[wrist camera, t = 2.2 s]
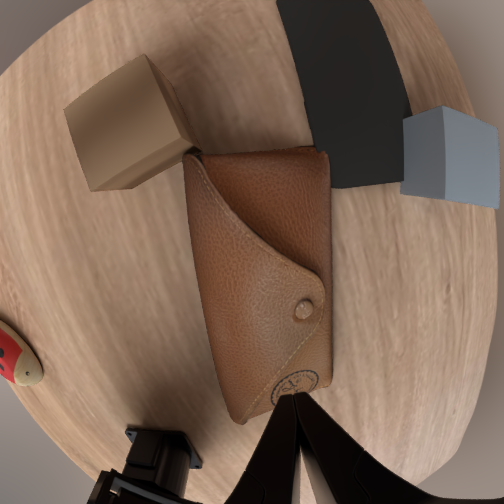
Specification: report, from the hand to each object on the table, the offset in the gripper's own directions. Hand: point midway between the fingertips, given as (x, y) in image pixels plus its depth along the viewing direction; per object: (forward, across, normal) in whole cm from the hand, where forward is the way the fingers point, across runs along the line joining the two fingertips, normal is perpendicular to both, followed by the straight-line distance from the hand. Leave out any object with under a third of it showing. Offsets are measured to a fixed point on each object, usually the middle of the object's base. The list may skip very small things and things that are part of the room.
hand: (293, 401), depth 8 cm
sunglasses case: (+10, 0, 0) cm, 10 cm away
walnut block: (+10, +6, -11) cm, 16 cm away
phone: (+10, -7, -13) cm, 18 cm away
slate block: (+10, -12, -7) cm, 17 cm away
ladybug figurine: (+10, +28, +4) cm, 30 cm away
